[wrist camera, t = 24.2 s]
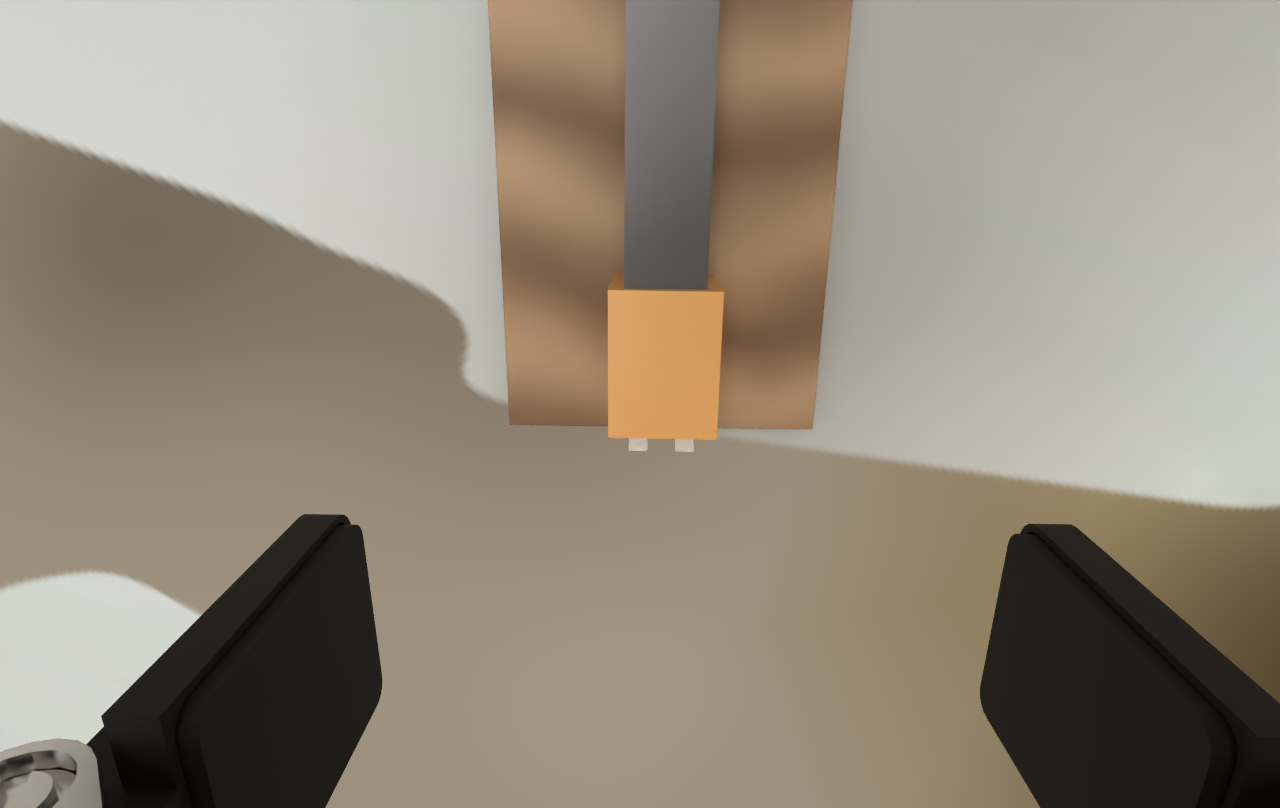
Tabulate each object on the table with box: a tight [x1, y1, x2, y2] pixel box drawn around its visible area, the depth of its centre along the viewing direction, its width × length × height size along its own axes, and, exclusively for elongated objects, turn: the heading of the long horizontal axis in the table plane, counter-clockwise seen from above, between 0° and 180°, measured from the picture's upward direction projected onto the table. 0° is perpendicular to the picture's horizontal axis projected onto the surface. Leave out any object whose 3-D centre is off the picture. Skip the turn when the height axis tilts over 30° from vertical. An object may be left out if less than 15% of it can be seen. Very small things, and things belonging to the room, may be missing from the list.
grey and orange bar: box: [608, 0, 724, 452], centre depth 27 cm, size 23×4×4 cm, turn 179°
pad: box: [488, 0, 852, 429], centre depth 29 cm, size 26×14×1 cm, turn 179°
